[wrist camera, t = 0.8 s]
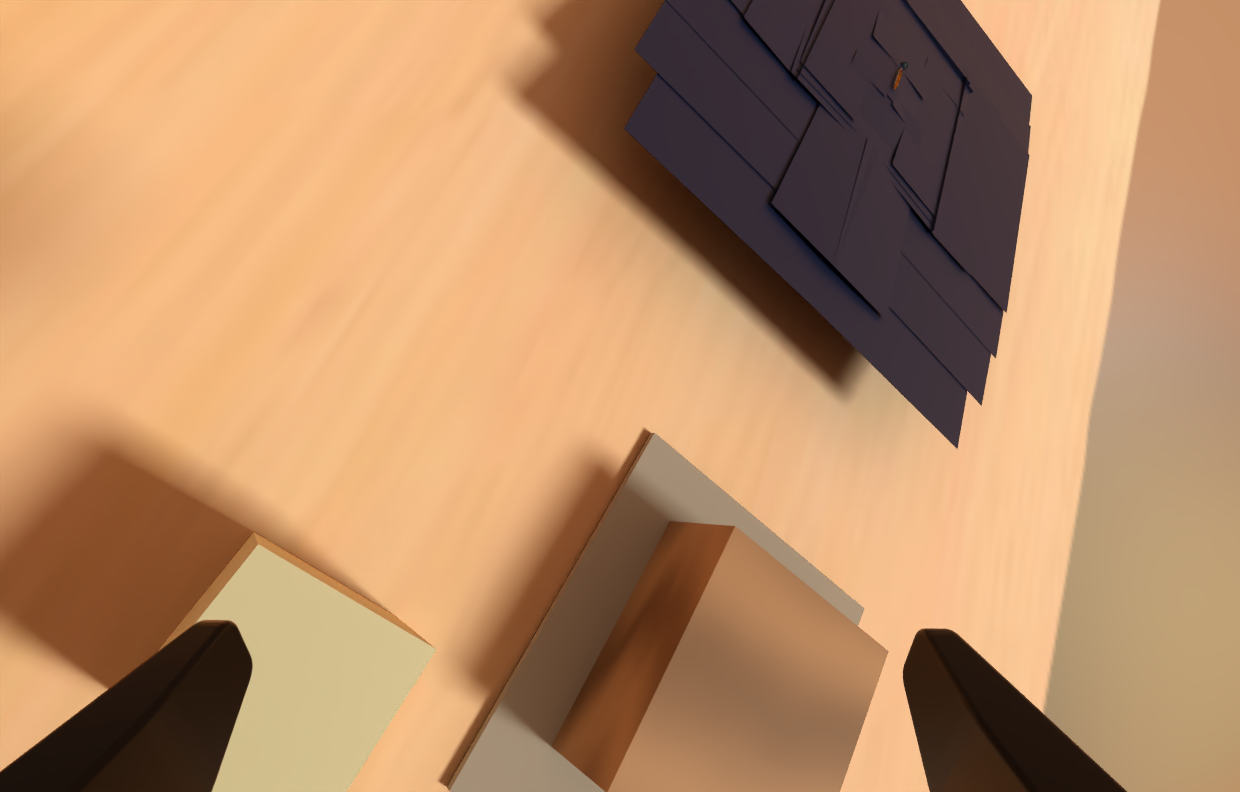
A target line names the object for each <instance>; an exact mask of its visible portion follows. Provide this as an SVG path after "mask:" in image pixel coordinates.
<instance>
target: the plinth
mask: <svg viewBox="0 0 1240 792" xmlns="http://www.w3.org/2000/svg"><path fill="white" fill-rule="evenodd" d="M887 654H888V651H887V650H886V649H885V648H884V647H882V646H881V645H880V644H879V643H878V642H876V641H875V640H874V639H873V638H871V637H870V636H869V635H868V634H867V633H865V632H864V631H863V630H862V629H860V628H859V627H858V626H857V625H856V624H854V623H853V622H852V621H851V620H849V619H848V618H847V617H846V616H845V615H843V614H842V613H841V612H840V611H838V610H837V609H836V608H835V607H834V606H832V605H831V604H830V603H829V602H827V601H826V600H825V599H824V598H823V597H821V596H820V595H819V594H818V593H816V592H815V591H814V590H813V589H812V588H810V587H809V586H808V585H807V584H805V583H804V582H803V581H802V580H801V579H799V578H798V577H797V576H796V575H794V574H793V573H792V572H791V571H790V570H788V569H787V568H786V567H785V566H783V565H782V564H781V563H780V562H779V561H777V560H776V559H775V558H774V557H772V556H771V555H770V554H769V553H768V552H766V551H765V550H764V549H763V548H761V547H760V546H759V545H758V544H757V543H755V542H754V541H753V540H752V539H750V538H749V537H748V536H747V535H746V534H744V533H743V532H742V531H741V530H739V529H738V528H737V527H736V526H728V525H715V524H702V523H690V522H677V521H670V522H669V523H668V525H667V527H666V529H665V531H664V533H663V535H662V537H661V539H660V541H659V542H658V544H657V546H656V548H655V550H654V552H653V554H652V556H651V558H650V560H649V561H648V563H647V565H646V567H645V569H644V571H643V573H642V575H641V577H640V578H639V580H638V582H637V584H636V586H635V588H634V590H633V592H632V594H631V596H630V597H629V599H628V601H627V603H626V605H625V607H624V609H623V611H622V613H621V614H620V616H619V618H618V620H617V622H616V624H615V626H614V628H613V630H612V632H611V633H610V635H609V637H608V639H607V641H606V643H605V645H604V647H603V649H602V651H601V652H600V654H599V656H598V658H597V660H596V662H595V664H594V666H593V668H592V669H591V671H590V673H589V675H588V677H587V679H586V681H585V683H584V685H583V687H582V688H581V690H580V692H579V694H578V696H577V698H576V700H575V702H574V704H573V706H572V707H571V709H570V711H569V713H568V715H567V717H566V719H565V721H564V723H563V724H562V726H561V728H560V730H559V732H558V734H557V736H556V738H555V740H554V742H553V743H552V745H551V747H552V748H553V749H555V750H556V751H557V752H558V753H559V754H561V755H562V756H563V757H564V758H565V759H567V760H568V761H569V762H570V763H571V764H573V765H574V766H575V767H576V768H577V769H579V770H580V771H581V772H582V773H583V774H585V775H586V776H587V777H588V778H589V779H591V780H592V781H593V782H594V783H595V784H597V785H598V786H599V787H600V788H601V789H603V790H604V791H605V792H840V790H841V787H842V784H843V781H844V778H845V775H846V772H847V770H848V767H849V764H850V761H851V758H852V755H853V752H854V749H855V746H856V743H857V741H858V738H859V735H860V732H861V729H862V726H863V723H864V720H865V717H866V715H867V712H868V709H869V706H870V703H871V700H872V697H873V694H874V691H875V688H876V686H877V683H878V680H879V677H880V674H881V671H882V668H883V665H884V662H885V660H886V657H887Z"/></svg>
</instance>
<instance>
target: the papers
mask: <svg viewBox="0 0 1240 792" xmlns="http://www.w3.org/2000/svg"><path fill="white" fill-rule="evenodd" d="M635 51H636V52H637V53H638V54H639V55H640V56H641V57H642V58H643V59H644V60H645V61H646V62H647V63H648V64H649V65H650V66H651V67H652V68H653V69H654V70H655V71H656V72H657V75H656V77H655V78H654V80H653V82H652V83H651V85H650V87H649V88H648V90H647V92H646V93H645V95H644V97H643V98H642V100H641V101H640V103H639V105H638V106H637V108H636V110H635V111H634V113H633V115H632V116H631V118H630V120H629V121H628V123H627V125H626V126H625V128H624V129H625V130H626V131H627V132H628V133H629V134H630V135H631V136H632V137H633V138H634V139H636V140H637V141H638V142H639V143H640V144H641V145H642V146H643V147H644V148H645V149H646V150H647V151H648V152H649V153H650V154H651V155H653V156H654V157H655V158H656V159H657V160H658V161H659V162H660V163H661V164H662V165H663V166H664V167H665V168H666V169H667V170H668V171H670V172H671V173H672V174H673V175H674V176H675V177H676V178H677V179H678V180H679V181H680V182H681V183H682V184H683V185H684V186H685V187H686V188H688V189H689V190H690V191H691V192H692V193H693V194H694V195H695V196H696V197H697V198H698V199H699V200H700V201H701V202H702V203H703V204H705V205H706V206H707V207H708V208H709V209H710V210H711V211H712V212H713V213H714V214H715V215H716V216H717V217H718V218H719V219H720V220H722V221H723V222H724V223H725V224H726V225H727V226H728V227H729V228H730V229H731V230H732V231H733V232H734V233H735V234H736V235H737V236H739V237H740V238H741V239H742V240H743V241H744V242H745V243H746V244H747V245H748V246H749V247H750V248H751V249H752V250H753V251H754V252H756V253H757V254H758V255H759V256H760V257H761V258H762V259H763V260H764V261H765V262H766V263H767V264H768V265H769V266H770V267H771V268H773V269H774V270H775V271H776V272H777V273H778V274H779V275H780V276H781V277H782V278H783V279H784V280H785V281H786V282H787V283H788V284H790V285H791V286H792V287H793V288H794V289H795V290H796V291H797V292H798V293H799V294H800V295H801V296H802V297H803V298H804V299H805V300H807V301H808V302H809V303H810V304H811V305H812V306H813V307H814V308H815V309H816V310H817V311H818V312H819V313H820V314H821V315H822V316H823V317H824V318H825V319H826V320H827V321H828V322H829V323H830V324H831V325H832V326H833V327H834V328H835V329H836V330H837V331H838V332H839V333H840V334H841V335H842V336H843V337H844V338H845V339H846V340H847V341H848V342H849V343H850V344H851V345H852V346H854V347H855V348H856V349H857V350H858V351H859V352H860V353H861V354H862V355H863V356H864V357H865V358H866V359H867V360H868V361H869V362H870V363H871V364H872V365H873V366H874V367H875V368H876V369H877V370H878V371H879V372H880V373H881V374H882V375H883V376H884V377H885V378H886V379H887V380H888V381H889V382H890V383H891V384H892V385H893V386H894V387H895V388H896V389H897V390H898V391H899V392H900V393H901V394H902V395H903V396H904V397H905V398H906V399H907V400H908V401H909V402H910V403H911V404H912V405H913V406H914V407H915V408H916V409H917V410H918V411H919V412H920V413H921V414H922V415H923V416H924V417H925V418H926V419H927V420H929V421H930V422H931V423H932V424H933V425H934V426H935V427H936V428H937V429H938V430H939V431H940V432H941V433H942V434H943V435H944V436H945V437H946V438H947V439H948V440H949V441H950V442H951V443H952V444H953V445H954V446H955V447H956V448H958V442H959V436H960V430H961V425H962V419H963V413H964V407H965V401H966V396H967V391H968V392H969V393H970V394H971V395H972V396H973V397H974V398H975V399H976V400H977V401H978V403H979V404H980V405H981V406H982V400H983V395H984V389H985V384H986V378H987V373H988V367H989V362H990V356H991V354H992V355H993V356H994V357H995V358H996V354H997V348H998V342H999V335H1000V329H1001V323H1002V317H1003V310H1004V311H1005V312H1006V313H1007V306H1008V299H1009V292H1010V285H1011V278H1012V271H1013V264H1014V257H1015V250H1016V244H1017V237H1018V230H1019V223H1020V216H1021V209H1022V202H1023V195H1024V188H1025V181H1026V174H1027V167H1028V160H1029V154H1028V148H1029V138H1030V127H1031V126H1030V125H1029V121H1030V111H1031V101H1032V95H1031V94H1030V92H1029V91H1028V90H1027V88H1026V87H1025V86H1024V84H1023V83H1022V82H1021V80H1020V79H1019V78H1018V76H1017V75H1016V74H1015V72H1014V71H1013V70H1012V68H1011V67H1010V66H1009V64H1008V63H1007V62H1006V60H1005V59H1004V58H1003V56H1002V55H1001V54H1000V52H999V51H998V50H997V48H996V47H995V46H994V44H993V43H992V42H991V40H990V39H989V37H988V36H987V35H986V33H985V32H984V31H983V29H982V28H981V27H980V25H979V24H978V23H977V21H976V20H975V19H974V17H973V16H972V15H971V13H970V12H969V11H968V9H967V8H966V7H965V5H964V4H963V3H962V1H961V0H665V1H664V3H663V5H662V6H661V8H660V9H659V11H658V13H657V14H656V16H655V17H654V19H653V21H652V22H651V24H650V25H649V27H648V29H647V30H646V32H645V34H644V35H643V37H642V38H641V40H640V42H639V43H638V45H637V46H636V48H635Z"/></svg>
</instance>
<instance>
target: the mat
mask: <svg viewBox="0 0 1240 792" xmlns="http://www.w3.org/2000/svg"><path fill="white" fill-rule="evenodd" d="M670 521H677V522H690V523H702V524H715V525H728V526H736V527H737V528H738V529H739V530H741V531H742V532H743V533H744V534H746V535H747V536H748V537H749V538H750V539H752V540H753V541H754V542H755V543H757V544H758V545H759V546H760V547H761V548H763V549H764V550H765V551H766V552H768V553H769V554H770V555H771V556H772V557H774V558H775V559H776V560H777V561H779V562H780V563H781V564H782V565H783V566H785V567H786V568H787V569H788V570H790V571H791V572H792V573H793V574H794V575H796V576H797V577H798V578H799V579H801V580H802V581H803V582H804V583H805V584H807V585H808V586H809V587H810V588H812V589H813V590H814V591H815V592H816V593H818V594H819V595H820V596H821V597H823V598H824V599H825V600H826V601H827V602H829V603H830V604H831V605H832V606H834V607H835V608H836V609H837V610H838V611H840V612H841V613H842V614H843V615H845V616H846V617H847V618H848V619H849V620H851V621H852V622H853V623H854V624H856V625H857V626H858V624H859V622H860V619H861V616H862V614H863V611H864V608H863V607H862V606H861V605H859V604H858V603H857V602H856V601H855V600H853V599H852V598H851V597H850V596H849V595H847V594H846V593H845V592H844V591H843V590H842V589H840V588H839V587H838V586H837V585H836V584H834V583H833V582H832V581H831V580H830V579H828V578H827V577H826V576H825V575H824V574H822V573H821V572H820V571H819V570H818V569H816V568H815V567H814V566H813V565H812V564H811V563H809V562H808V561H807V560H806V559H805V558H803V557H802V556H801V555H800V554H799V553H797V552H796V551H795V550H794V549H793V548H791V547H790V546H789V545H788V544H787V543H785V542H784V541H783V540H782V539H781V538H779V537H778V536H777V535H776V534H775V533H774V532H772V531H771V530H770V529H769V528H768V527H766V526H765V525H764V524H763V523H762V522H760V521H759V520H758V519H757V518H756V517H754V516H753V515H752V514H751V513H750V512H748V511H747V510H746V509H745V508H744V507H742V506H741V505H740V504H739V503H738V502H737V501H735V500H734V499H733V498H732V497H731V496H729V495H728V494H727V493H726V492H725V491H723V490H722V489H721V488H720V487H719V486H717V485H716V484H715V483H714V482H713V481H711V480H710V479H709V478H708V477H707V476H705V475H704V474H703V473H702V472H701V471H700V470H698V469H697V468H696V467H695V466H694V465H692V464H691V463H690V462H689V461H688V460H686V459H685V458H684V457H683V456H682V455H680V454H679V453H678V452H677V451H676V450H674V449H673V448H672V447H671V446H670V445H669V444H667V443H666V442H665V441H664V440H663V439H661V438H660V437H659V436H658V435H657V434H655V433H651V434H650V435H649V437H648V439H647V440H646V442H645V444H644V446H643V447H642V449H641V451H640V453H639V454H638V456H637V458H636V460H635V461H634V463H633V465H632V467H631V468H630V470H629V472H628V473H627V475H626V477H625V479H624V480H623V482H622V484H621V486H620V487H619V489H618V491H617V493H616V494H615V496H614V498H613V500H612V501H611V503H610V505H609V506H608V508H607V510H606V512H605V513H604V515H603V517H602V519H601V520H600V522H599V524H598V526H597V527H596V529H595V531H594V533H593V534H592V536H591V538H590V540H589V541H588V543H587V545H586V546H585V548H584V550H583V552H582V553H581V555H580V557H579V559H578V560H577V562H576V564H575V566H574V567H573V569H572V571H571V573H570V574H569V576H568V578H567V579H566V581H565V583H564V585H563V586H562V588H561V590H560V592H559V593H558V595H557V597H556V599H555V600H554V602H553V604H552V606H551V607H550V609H549V611H548V612H547V614H546V616H545V618H544V619H543V621H542V623H541V625H540V626H539V628H538V630H537V632H536V633H535V635H534V637H533V639H532V640H531V642H530V644H529V646H528V647H527V649H526V651H525V652H524V654H523V656H522V658H521V659H520V661H519V663H518V665H517V666H516V668H515V670H514V672H513V673H512V675H511V677H510V679H509V680H508V682H507V684H506V685H505V687H504V689H503V691H502V692H501V694H500V696H499V698H498V699H497V701H496V703H495V705H494V706H493V708H492V710H491V712H490V713H489V715H488V717H487V718H486V720H485V722H484V724H483V725H482V727H481V729H480V731H479V732H478V734H477V736H476V738H475V739H474V741H473V743H472V745H471V746H470V748H469V750H468V752H467V753H466V755H465V757H464V758H463V760H462V762H461V764H460V765H459V767H458V769H457V771H456V772H455V774H454V776H453V778H452V779H451V781H450V783H449V785H448V786H447V788H448V790H449V791H450V792H605V791H604V790H603V789H601V788H600V787H599V786H598V785H597V784H595V783H594V782H593V781H592V780H591V779H589V778H588V777H587V776H586V775H585V774H583V773H582V772H581V771H580V770H579V769H577V768H576V767H575V766H574V765H573V764H571V763H570V762H569V761H568V760H567V759H565V758H564V757H563V756H562V755H561V754H559V753H558V752H557V751H556V750H555V749H553V748H552V747H551V745H552V743H553V742H554V740H555V738H556V736H557V734H558V732H559V730H560V728H561V726H562V724H563V723H564V721H565V719H566V717H567V715H568V713H569V711H570V709H571V707H572V706H573V704H574V702H575V700H576V698H577V696H578V694H579V692H580V690H581V688H582V687H583V685H584V683H585V681H586V679H587V677H588V675H589V673H590V671H591V669H592V668H593V666H594V664H595V662H596V660H597V658H598V656H599V654H600V652H601V651H602V649H603V647H604V645H605V643H606V641H607V639H608V637H609V635H610V633H611V632H612V630H613V628H614V626H615V624H616V622H617V620H618V618H619V616H620V614H621V613H622V611H623V609H624V607H625V605H626V603H627V601H628V599H629V597H630V596H631V594H632V592H633V590H634V588H635V586H636V584H637V582H638V580H639V578H640V577H641V575H642V573H643V571H644V569H645V567H646V565H647V563H648V561H649V560H650V558H651V556H652V554H653V552H654V550H655V548H656V546H657V544H658V542H659V541H660V539H661V537H662V535H663V533H664V531H665V529H666V527H667V525H668V523H669V522H670Z"/></svg>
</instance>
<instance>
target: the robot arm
mask: <svg viewBox="0 0 1240 792" xmlns="http://www.w3.org/2000/svg"><path fill="white" fill-rule="evenodd" d="M252 669H253V663H252V658H251V655H250V653H249V650H248V648H247V646H246V644H245V642H244V640H243V637H242V635H241V633H240V631H239V629H238V627H237V625H236V624H235V623H234V622H232V621H230V620H202V621H199V622H197V623H195V624H194V625H192V626H191V627H189V628H188V629H187V630H185V631H184V632H183V633H181V634H180V635H179V636H177V637H176V638H175V639H174V640H172V641H171V642H170V643H168V644H167V645H166V646H164V647H163V648H162V649H160V650H159V651H158V652H157V653H155V654H154V655H153V656H151V657H150V658H149V659H147V660H146V661H145V662H143V663H142V664H141V665H139V666H138V667H137V668H136V669H134V670H133V671H132V672H130V673H129V674H128V675H126V676H125V677H124V678H122V679H121V680H120V681H118V682H117V683H116V684H115V685H113V686H112V687H111V688H109V689H108V690H107V691H105V692H104V693H103V694H101V695H100V696H99V697H97V698H96V699H95V700H94V701H92V702H91V703H90V704H88V705H87V706H86V707H84V708H83V709H82V710H80V711H79V712H78V713H76V714H75V715H74V716H73V717H71V718H70V719H69V720H67V721H66V722H65V723H63V724H62V725H61V726H59V727H58V728H57V729H56V730H54V731H53V732H52V733H50V734H49V735H48V736H46V737H45V738H44V739H42V740H41V741H40V742H38V743H37V744H36V745H35V746H33V747H32V748H31V749H29V750H28V751H27V752H25V753H24V754H23V755H21V756H20V757H19V758H17V759H16V760H15V761H14V762H12V763H11V764H10V765H8V766H7V767H6V768H4V769H3V770H2V771H0V792H212V790H213V787H214V784H215V782H216V779H217V776H218V773H219V770H220V767H221V764H222V761H223V758H224V756H225V753H226V750H227V747H228V744H229V741H230V738H231V735H232V732H233V729H234V726H235V723H236V720H237V717H238V714H239V711H240V708H241V705H242V702H243V700H244V697H245V694H246V691H247V688H248V685H249V682H250V679H251V675H252ZM903 682H904V687H905V691H906V696H907V700H908V704H909V708H910V712H911V716H912V720H913V725H914V729H915V733H916V737H917V741H918V745H919V749H920V753H921V758H922V762H923V766H924V770H925V774H926V778H927V782H928V786H929V790H930V792H1127V791H1126V790H1125V789H1124V788H1122V786H1121V785H1119V784H1118V783H1117V782H1116V781H1115V780H1114V779H1113V778H1112V777H1111V776H1110V775H1109V774H1108V773H1107V772H1105V771H1104V770H1103V769H1102V768H1101V767H1100V766H1099V765H1098V764H1097V763H1096V762H1095V761H1094V760H1093V759H1091V758H1090V757H1089V756H1088V755H1087V754H1086V753H1085V752H1084V751H1083V750H1082V749H1081V748H1080V747H1079V746H1078V745H1076V744H1075V743H1074V742H1073V741H1072V740H1071V739H1070V738H1069V737H1068V736H1067V735H1066V734H1065V733H1063V732H1062V731H1061V730H1060V729H1059V728H1058V727H1057V726H1056V725H1055V724H1054V723H1053V722H1052V721H1051V720H1050V719H1048V718H1047V717H1046V716H1045V715H1044V714H1043V713H1042V712H1041V711H1040V710H1039V709H1038V708H1037V707H1036V706H1035V705H1033V704H1032V703H1031V702H1030V701H1029V700H1028V699H1027V698H1026V697H1025V696H1024V695H1023V694H1022V693H1021V692H1019V691H1018V690H1017V689H1016V688H1015V687H1014V686H1013V685H1012V684H1011V683H1010V682H1009V681H1008V680H1007V679H1005V678H1004V677H1003V676H1002V675H1001V674H1000V673H999V672H998V671H997V670H996V669H995V668H994V667H993V666H992V665H990V664H989V663H988V662H987V661H986V660H985V659H984V658H983V657H982V656H981V655H980V654H979V653H978V652H976V651H975V650H974V649H973V648H972V647H971V646H970V645H969V644H968V643H967V642H966V641H965V640H964V639H962V638H961V637H960V636H959V635H958V634H957V633H955V632H954V631H952V630H949V629H921V630H919V631H918V632H917V633H916V635H915V638H914V640H913V643H912V646H911V648H910V651H909V654H908V656H907V659H906V662H905V664H904V668H903Z"/></svg>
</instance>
